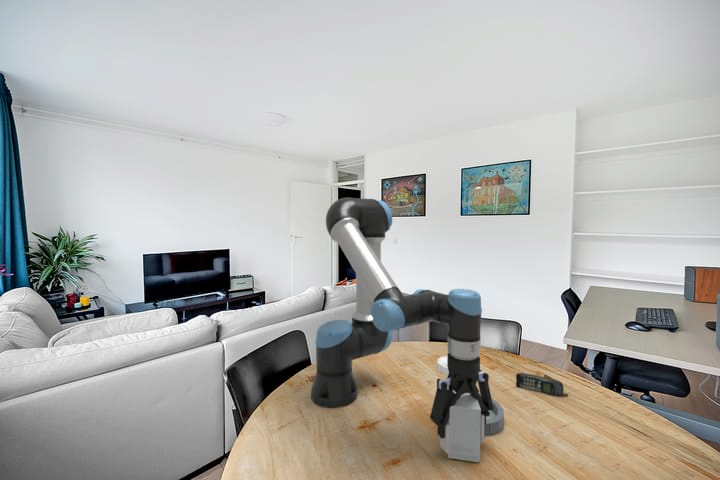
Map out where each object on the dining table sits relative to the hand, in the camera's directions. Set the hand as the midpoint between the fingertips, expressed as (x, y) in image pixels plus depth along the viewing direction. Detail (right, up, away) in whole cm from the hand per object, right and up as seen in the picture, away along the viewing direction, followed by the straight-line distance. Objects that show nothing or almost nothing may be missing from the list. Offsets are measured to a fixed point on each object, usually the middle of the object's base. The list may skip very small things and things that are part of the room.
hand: (461, 443), depth 75 cm
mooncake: (+11, -1, +44) cm, 45 cm away
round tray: (+8, -1, +14) cm, 16 cm away
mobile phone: (+36, -1, +28) cm, 45 cm away
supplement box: (0, -2, 0) cm, 2 cm away
